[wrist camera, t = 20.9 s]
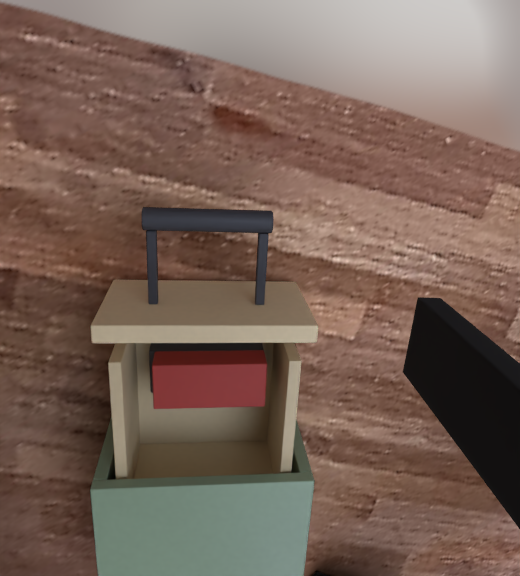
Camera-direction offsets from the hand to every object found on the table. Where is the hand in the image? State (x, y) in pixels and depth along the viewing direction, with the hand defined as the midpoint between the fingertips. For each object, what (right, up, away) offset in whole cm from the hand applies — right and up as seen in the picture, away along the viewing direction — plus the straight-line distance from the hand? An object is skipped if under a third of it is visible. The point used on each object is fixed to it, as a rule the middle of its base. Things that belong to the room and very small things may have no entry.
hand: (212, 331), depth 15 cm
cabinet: (-4, -16, +29) cm, 33 cm away
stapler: (-3, -3, +22) cm, 23 cm away
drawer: (-3, -2, +23) cm, 23 cm away
